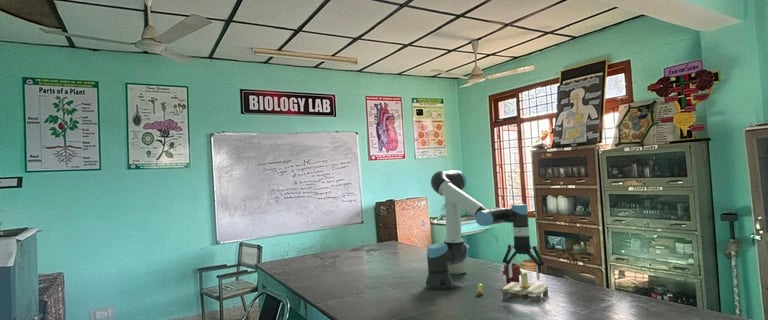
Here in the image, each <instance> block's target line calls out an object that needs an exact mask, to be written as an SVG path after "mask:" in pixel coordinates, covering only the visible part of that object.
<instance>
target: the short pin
mask: <svg viewBox="0 0 768 320" xmlns="http://www.w3.org/2000/svg"><path fill="white" fill-rule="evenodd" d="M476 291H477V295H478V296H483V295H484V284H483V283H477V284H476Z"/></svg>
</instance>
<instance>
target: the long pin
mask: <svg viewBox="0 0 768 320" xmlns="http://www.w3.org/2000/svg"><path fill="white" fill-rule="evenodd" d="M520 279H521V281H520V283H522V288H527V289H528V283H529V278H528V272H527V271H522V272H521V275H520ZM521 296H522V298H523V299H529V298H530V297H529V296H530V295H528V294H521Z"/></svg>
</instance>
